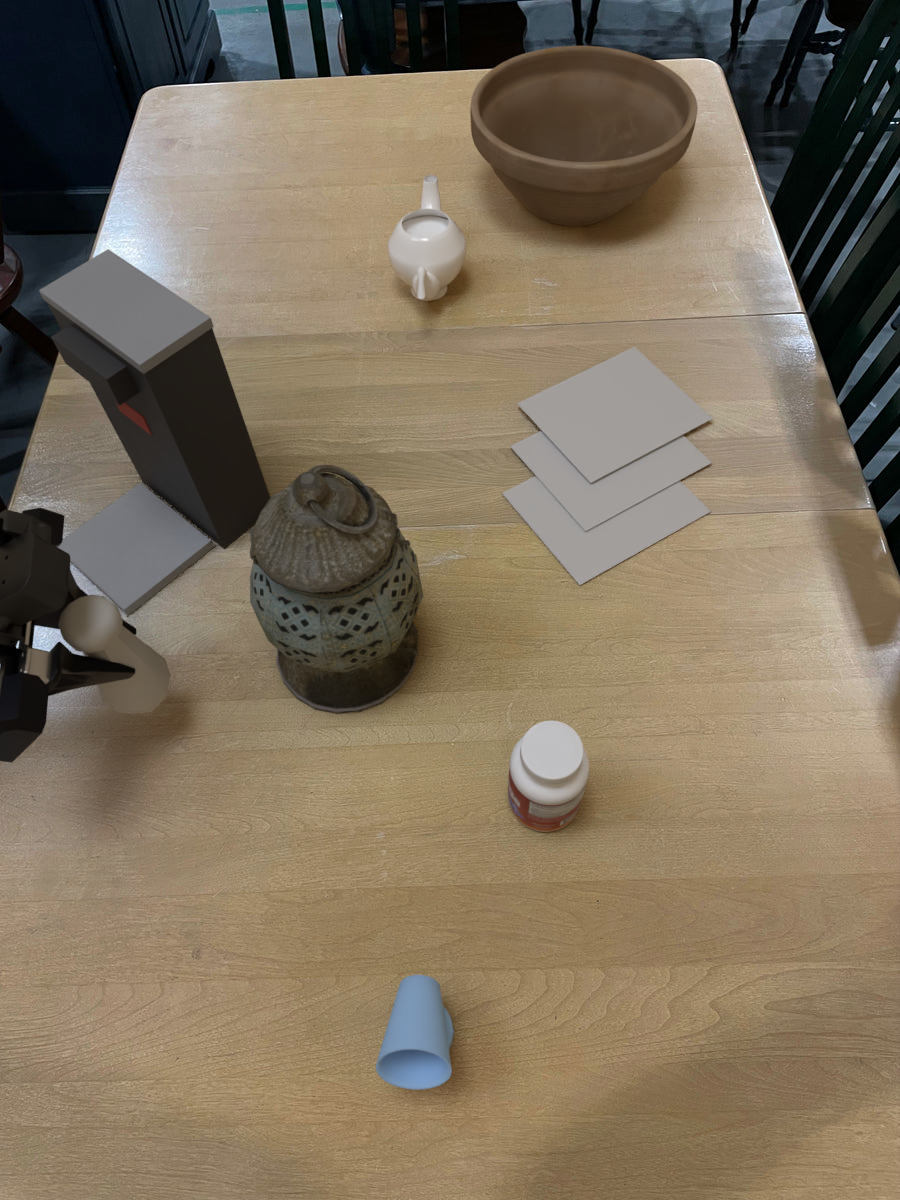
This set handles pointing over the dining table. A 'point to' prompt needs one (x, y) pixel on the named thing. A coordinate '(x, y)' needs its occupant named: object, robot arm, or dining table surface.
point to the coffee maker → (155, 428)
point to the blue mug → (417, 1037)
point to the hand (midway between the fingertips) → (133, 653)
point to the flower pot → (581, 129)
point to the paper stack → (609, 464)
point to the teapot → (427, 246)
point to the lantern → (335, 591)
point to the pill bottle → (547, 776)
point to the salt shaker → (116, 654)
